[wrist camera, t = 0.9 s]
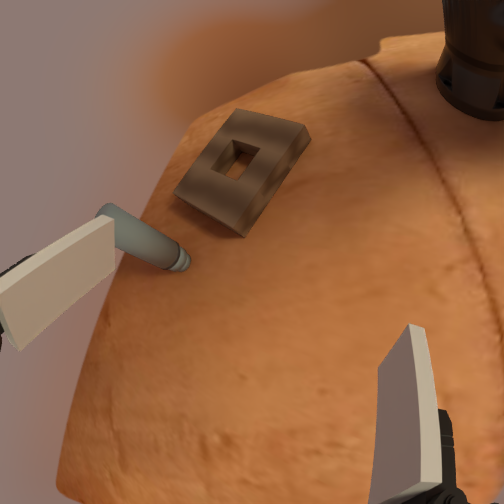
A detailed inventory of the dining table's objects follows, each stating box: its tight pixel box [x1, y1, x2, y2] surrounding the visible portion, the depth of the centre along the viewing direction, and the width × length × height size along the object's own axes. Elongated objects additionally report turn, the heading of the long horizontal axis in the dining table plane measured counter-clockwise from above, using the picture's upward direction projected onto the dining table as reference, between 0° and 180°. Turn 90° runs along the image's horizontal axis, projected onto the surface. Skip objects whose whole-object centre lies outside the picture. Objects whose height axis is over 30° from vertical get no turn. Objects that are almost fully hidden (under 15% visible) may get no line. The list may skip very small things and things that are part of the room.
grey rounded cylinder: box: [94, 203, 191, 272], centre depth 39 cm, size 4×4×16 cm
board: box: [173, 108, 311, 238], centre depth 45 cm, size 18×14×4 cm
